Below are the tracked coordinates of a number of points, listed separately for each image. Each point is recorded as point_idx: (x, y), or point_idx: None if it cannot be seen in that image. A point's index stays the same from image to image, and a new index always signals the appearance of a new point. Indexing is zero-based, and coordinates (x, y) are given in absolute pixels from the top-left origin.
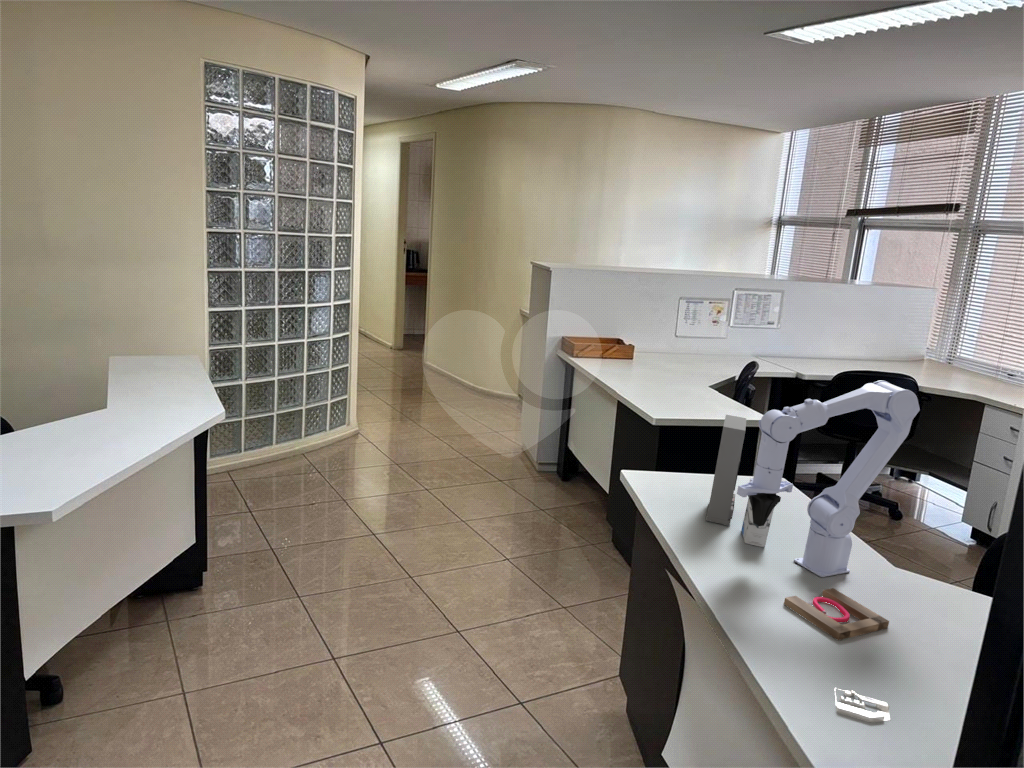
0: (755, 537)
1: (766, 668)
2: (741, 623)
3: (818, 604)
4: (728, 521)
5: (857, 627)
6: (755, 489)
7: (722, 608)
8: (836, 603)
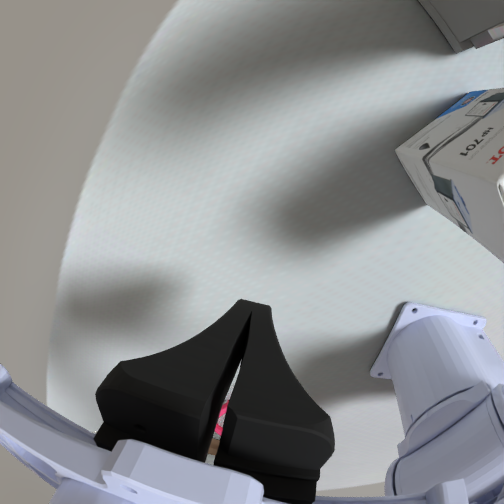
0: (418, 181)
1: (58, 387)
2: (71, 346)
3: (220, 414)
4: (458, 44)
5: (210, 452)
6: (37, 473)
7: (65, 313)
8: None
